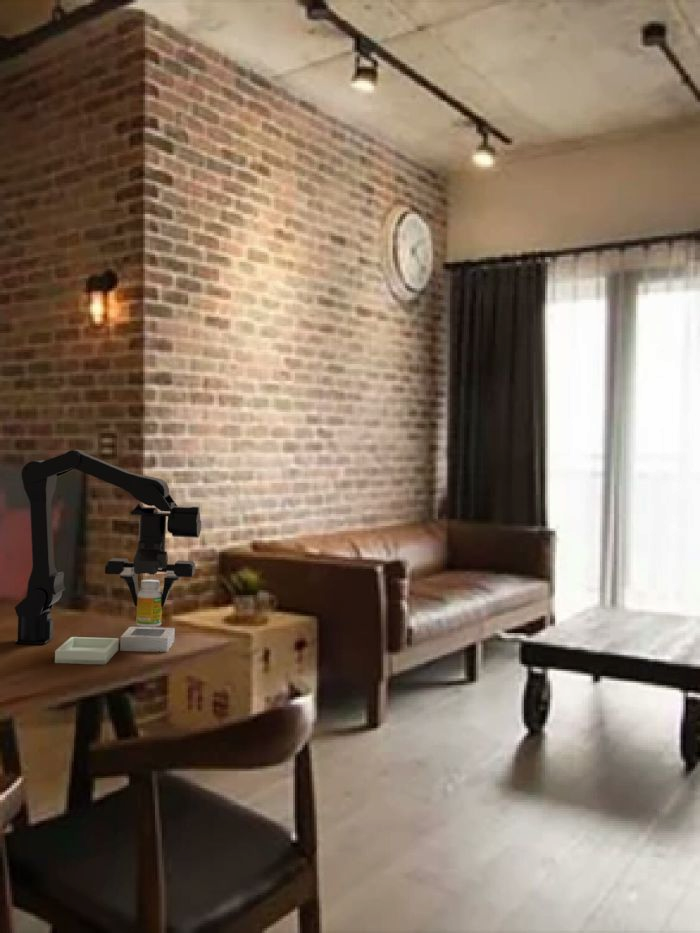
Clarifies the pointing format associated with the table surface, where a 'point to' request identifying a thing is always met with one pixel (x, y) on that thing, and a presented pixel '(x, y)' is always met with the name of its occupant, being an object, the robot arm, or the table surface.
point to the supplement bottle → (149, 604)
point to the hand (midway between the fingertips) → (149, 606)
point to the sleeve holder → (147, 639)
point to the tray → (86, 650)
